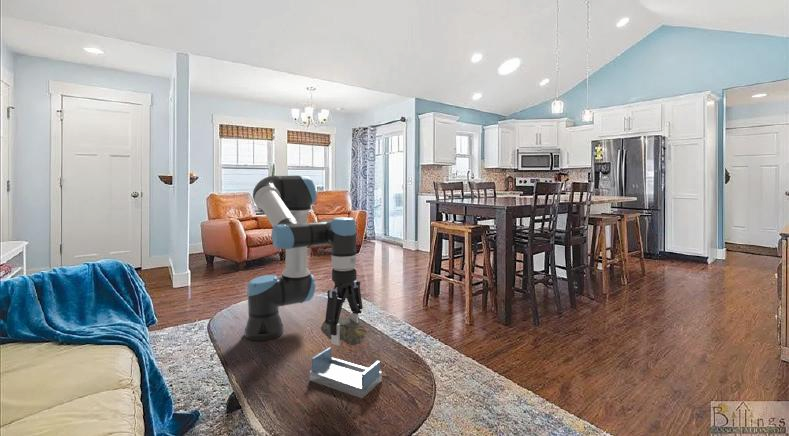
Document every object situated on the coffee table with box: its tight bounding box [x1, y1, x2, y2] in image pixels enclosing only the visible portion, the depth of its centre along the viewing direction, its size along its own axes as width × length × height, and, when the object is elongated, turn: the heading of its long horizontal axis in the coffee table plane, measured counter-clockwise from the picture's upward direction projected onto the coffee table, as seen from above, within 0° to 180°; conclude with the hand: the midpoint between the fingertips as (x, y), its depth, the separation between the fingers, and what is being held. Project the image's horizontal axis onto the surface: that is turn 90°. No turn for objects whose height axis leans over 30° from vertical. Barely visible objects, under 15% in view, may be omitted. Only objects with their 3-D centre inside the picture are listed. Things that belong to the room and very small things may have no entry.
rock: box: [320, 316, 367, 346], centre depth 121 cm, size 17×7×10 cm
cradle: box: [309, 346, 383, 399], centre depth 122 cm, size 20×11×7 cm, turn 61°
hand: (345, 338), depth 120 cm, fingers closed on rock, 9 cm apart
